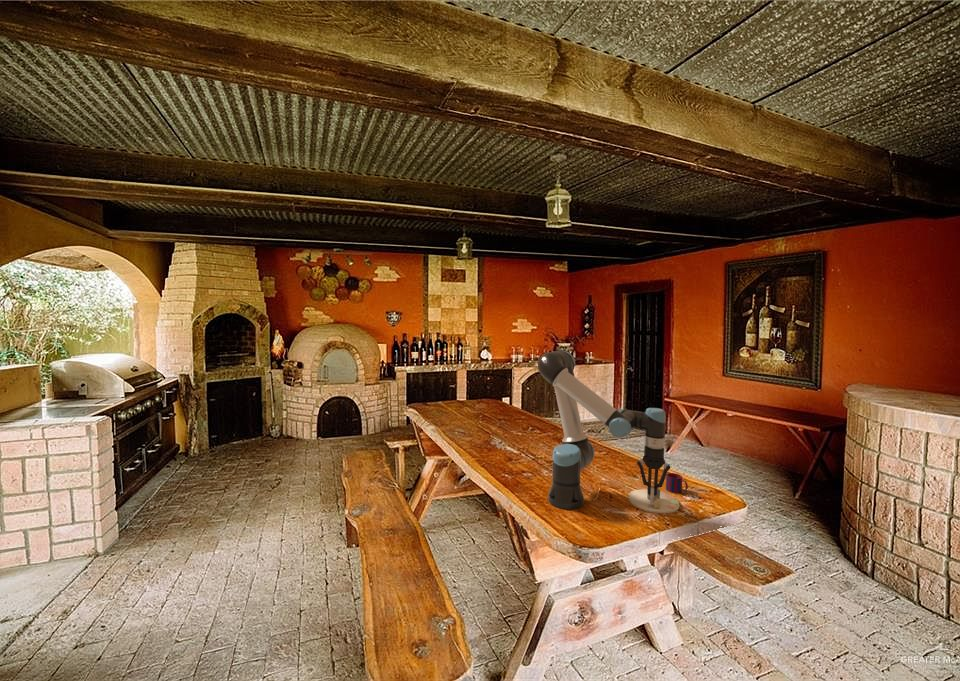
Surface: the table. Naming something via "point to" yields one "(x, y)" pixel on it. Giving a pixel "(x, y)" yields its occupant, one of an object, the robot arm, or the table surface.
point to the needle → (655, 498)
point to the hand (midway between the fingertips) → (651, 502)
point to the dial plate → (642, 502)
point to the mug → (674, 483)
